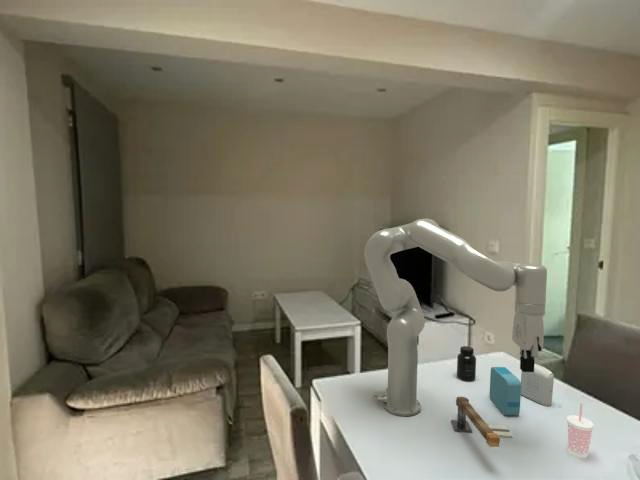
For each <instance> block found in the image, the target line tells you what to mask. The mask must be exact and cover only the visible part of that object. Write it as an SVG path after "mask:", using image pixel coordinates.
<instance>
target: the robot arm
mask: <svg viewBox="0 0 640 480" xmlns="http://www.w3.org/2000/svg"><path fill="white" fill-rule="evenodd" d="M418 247H419V248H420V249H423V250H424V251H426V252H428V253H429V254H432V255H433V256H435V257H437V258H438V259H441V261H444V262H446V263H448V264H449V265H451V267H453V268H454V269H456V270H458V271H459V272H460V273H461V274H464V276H466V277H468V278H469V279H471V280H473V281H474V282H476V283H478V284H480V285H481V286H484V287H486V288H487V289H490V290H491V291H495V292H501V293H502V292H507V291H508V290H510V289H511V288H512V287H513V286H514V287H515V294H514V296H515V298H514V318H513V325H512V335H511V336H512V337H511V338H512V340H513V342H514V343H515V344H516V345H517V346H518V347H519V355H520V356H519V357H520V358H519V369H520V370H521V372H522V371H523V372H534V364H535V363H536V362H535V360H536V358H539V352H540V353H541V352H542V351H543V349H544V343H545V342H544V340H545V339H544V336H545V335H544V334H545V333H544V332H545V331H544V330H545V329H544V316H546V304H547V303H546V299H547V278H548V270H547V268H546V266H545V265H543V264H538V263H517V262H511V261H508V260H497V261H494V260H493V259H491V258H489V257H487V256H485V255H484V254H482V253H480V252H479V251H477V250H475V249H474V248H473V247H472V246H471V245H470V244H469V242H468V241H467V240H465V239H464V238H463V237H461V236H459V235H457V234H455V233H453V232H451V231H449V230H446V229H445V228H443V227H441V226H440V225H439V224H438V223H437V222H436V220H433V219H431V218H420V219H415V220H414V221H412V222H409V223H406V224H403V225H398V226H395V227H390V228H384V229H381V230H378V231H376V232H374V233H373V234H372V235H371V236H370V237H369V239H368V240H367V242H366V243H365V246H364V252H363V254H364V260H365V264H366V267H367V269H368V272H369V274H370V277H371V280H372V284H373V286H374V289H375V292H376V294H377V296H378V297H377V298H378V300H379V302H380V305H381V306H382V308H383V309H384V310H386V311H388V312H390V313H392V312H394V314H395V315H394V316H393V317H392V318H391V320H390V321H389V322H388V325H387V328H386V338H387V348H388V349H387V351H388V356H387V361H388V362H387V363H388V364H387V387H386V389H385V391H373V398H375V399H376V398H377V401H379V402H382V407H383V409H384V410H386V412H389V413H391V414H392V415H396V416H401V417H410V416H415V415H417V414H419V413H420V412H421V410H422V404H421V401H419V400H418V399H417V394H418V393H417V392H418V391H417V390H418V387H417V386H418V364H419V363H418V361H419V360H418V359H419V356H418V355H419V353H418V336H419V335H420V334H421V332H422V331H423V330H424V328H425V323H426V319H425V316H424V312H423V310H422V308H421V307H422V306H421V305H420V302H419V298H418V297H417V294H416V291H415V289H414V287H413V286H412V284H411V283H410V282H409V281H407V280H406V279H403V278H400V277H399V275H398V273H397V268H396V267H395V265H394V263H393V261H392V260H391V255H392V254H395V253H398V252H401V251H405V250H410V249H413V248H418Z"/></svg>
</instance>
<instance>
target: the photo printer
mask: <svg viewBox="0 0 640 480" xmlns="http://www.w3.org/2000/svg"><path fill="white" fill-rule="evenodd" d="M554 379H555V375H554V373H553V372H552V371H551V370H550V369H548V368H546V367H544V366H542V365H539V364H538V363H537V364H536V363H534V372H523V371H522V370H521V377H520V382H521V396H523V397H525V398H527V399H528V400H532V401H534V402H536V403H538V404H540V405H543V406H544V407H551V405H552V402H553V395H554V394H553V391H554Z"/></svg>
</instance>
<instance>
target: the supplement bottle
mask: <svg viewBox="0 0 640 480" xmlns="http://www.w3.org/2000/svg"><path fill="white" fill-rule="evenodd" d="M474 351H475V350H474V348H473V347H471V346H466V345H465V346H460V350H459V352H460V353H458V354H457V357H456V358H457V359H456V360H457V363H456V365H457V367H456V377H457V378H458V379H459V380H461V381H463V382H474V381H475V380H476V373H477V371H476V370H477V358H476V356H475V355H474Z"/></svg>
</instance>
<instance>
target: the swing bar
mask: <svg viewBox="0 0 640 480" xmlns="http://www.w3.org/2000/svg"><path fill="white" fill-rule="evenodd" d="M455 401H456V402H455V405H456V407H457V408H458V407H460V408H461V409H462V410H463V411H464V413H465V414H466V417H467V418H468V419H469V420H470V421H471V423H472V424H473V425H474V427H475V428H476V429H477V431H478V432H479V433H480V435H482V437H483V438H484V440H485V443H486V445H488V446H489V447H490V448H499V447H500V439H501V437H499V436H498V435H497V434H496V433H494V432H493V431H492V430H491V429H490V427H489V426H488V425H489V424H487V423H486V421H485V420H484V418H483V417H481V415H480V414H479V413H478V412H477V411H476V409H475V408H474V406H472V404H471V403H470V399H469V398H467V397H466V396H457V397H455Z"/></svg>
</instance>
